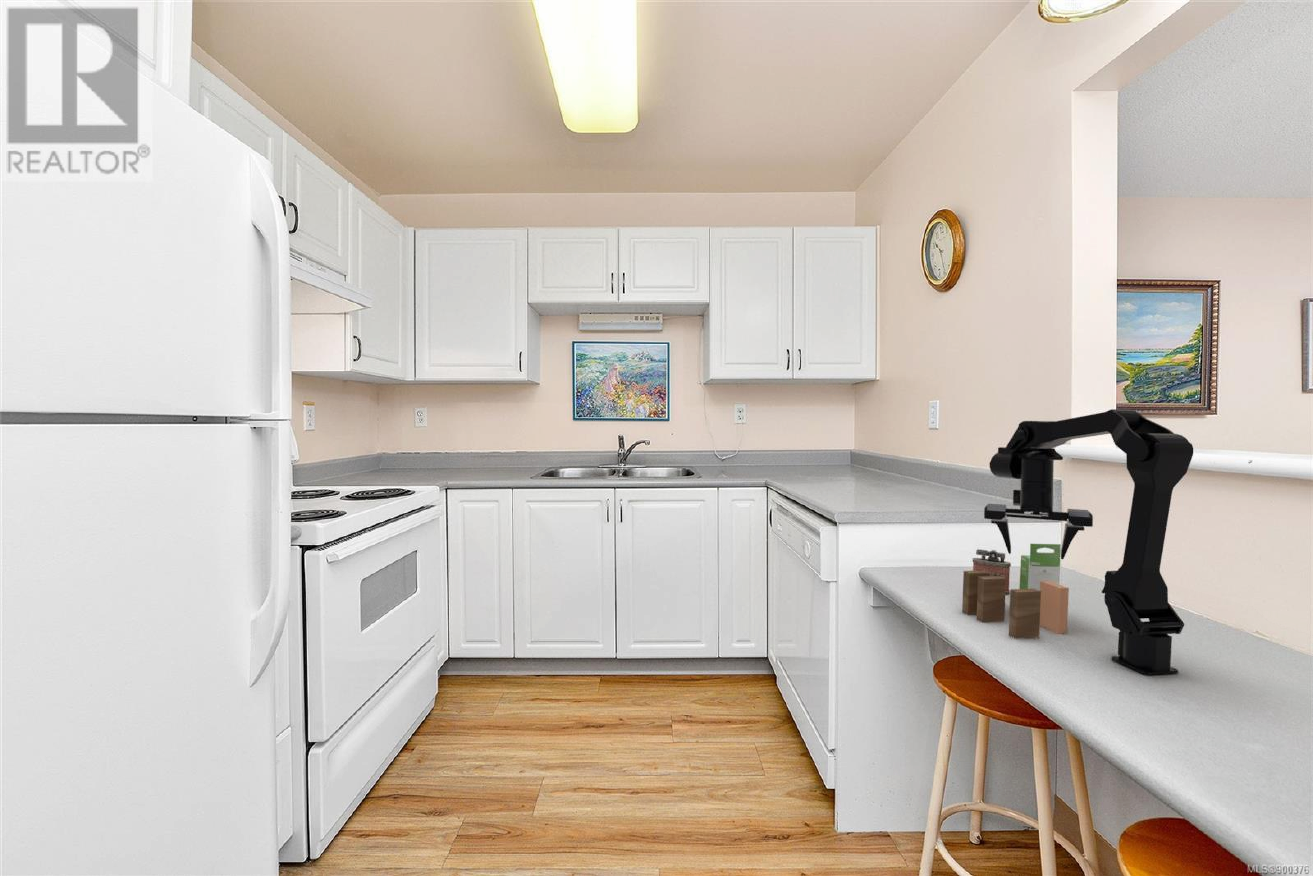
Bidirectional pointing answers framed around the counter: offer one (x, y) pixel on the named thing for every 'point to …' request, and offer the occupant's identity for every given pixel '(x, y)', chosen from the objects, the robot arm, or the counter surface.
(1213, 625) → the counter surface
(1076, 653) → the counter surface
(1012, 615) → the domino
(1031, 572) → the ink box
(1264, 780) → the counter surface
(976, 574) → the domino
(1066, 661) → the counter surface
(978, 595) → the domino
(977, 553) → the lighter
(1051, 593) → the domino
